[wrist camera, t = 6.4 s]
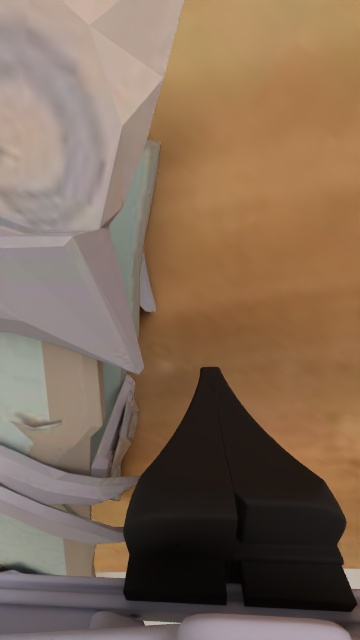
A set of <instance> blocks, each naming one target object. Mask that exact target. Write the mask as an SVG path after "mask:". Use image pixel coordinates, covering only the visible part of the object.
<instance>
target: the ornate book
mask: <svg viewBox="0 0 360 640" xmlns="http://www.w3.org/2000/svg"><path fill="white" fill-rule="evenodd" d="M183 3H184V0H0V573H18V574H40V575H61V576H83V577H96V575H95V569H94V554H95V548H96V544H100V543H120V542H124V541H125V539H124V536H123V528H124V527H112V526H109V525H106V524H103V523H99V522H96V521H93V520H91V505H95V504H98V503H101V502H103V501H106V500H115V501H120V498H121V492H123V491H125V490H127V489H129V488H131V487H133V486H135V485H136V484H137V482H138V479H139V476H131V477H121V460H122V459H123V457H124V455H125V454H126V452H127V451H128V449H129V447H130V446H131V444H132V441H133V438H134V434H135V429H136V425H137V420H138V414H139V410H138V407H137V404H136V400H135V397H134V389H135V381H134V380H133V379H132V378H131V377H130V376H129V375H126V374H127V371H129V372H132V373H134V374H137V375H139V374H140V373H141V371H142V370H143V369H144V368H145V367H144V364H143V360H142V356H141V352H140V348H139V344H138V340H137V339H138V338H139V325H140V306H141V307H142V308H143V309H144V310H145V311H146V312H155V310H156V303H155V300H154V297H153V294H152V290H151V287H150V281H149V276H148V271H147V266H146V261H145V256H144V251H143V249H144V242H145V236H146V231H147V226H148V221H149V215H150V210H151V205H152V200H153V194H154V189H155V184H156V179H157V173H158V165H159V156H160V147H161V143H160V142H157V141H152V140H147V137H148V133H149V130H150V126H151V122H152V119H153V115H154V112H155V108H156V104H157V101H158V97H159V93H160V90H161V86H162V83H163V79H164V75H165V71H166V68H167V64H168V60H169V56H170V53H171V49H172V45H173V41H174V37H175V34H176V30H177V26H178V22H179V19H180V15H181V11H182V7H183Z"/></svg>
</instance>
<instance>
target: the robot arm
mask: <svg viewBox="0 0 360 640" xmlns="http://www.w3.org/2000/svg"><path fill="white" fill-rule="evenodd" d="M346 523H347V522H346V519H345V516H344V514H343V512H342V510H341V508H340V506H339V504H338V502H337V501H336V499H335V497H334V496H333V494H332V492H331V491H330V489H329V488H328V486H327V484H326V483H325V481H324V480H323V479H321V478H320V477H319V476H317V475H316V474H315V473H313V472H312V471H311V470H309V469H308V468H307V467H305V466H304V465H303V464H301V463H300V462H299V461H297V460H296V459H295V458H294V457H293V456H291V455H290V454H289V453H288V452H287V451H285V450H284V449H283V448H282V447H281V446H280V445H279V444H278V443H277V442H276V441H275V440H274V439H273V438H271V437H270V436H269V435H268V434H267V433H266V432H265V431H264V430H263V429H262V428H261V427H260V425H259V424H258V423H257V422H256V421H255V420H254V419H253V418H252V417H251V415H250V414H249V413H248V412H247V411H246V409H245V408H244V407H243V405H242V404H241V403H240V401H239V400H238V399H237V397H236V396H235V394H234V393H233V391H232V390H231V388H230V387H229V385H228V383H227V382H226V380H225V378H224V376H223V375H222V373H221V370H220V368H218V367H202V368H201V369H200V377H199V381H198V385H197V388H196V391H195V394H194V396H193V399H192V401H191V403H190V406H189V408H188V410H187V412H186V414H185V416H184V418H183V420H182V421H181V423H180V425H179V426H178V428H177V430H176V431H175V433H174V434H173V436H172V438H171V439H170V440H169V442H168V443H167V445H166V446H165V447H164V449H163V450H162V451H161V453H160V454H159V455H158V456H157V458H156V459H155V460H154V461H153V462H152V464H151V465H150V466H149V467H148V468H147V469H146V470H145V472H144V473H143V474H142V475H141V476H140V478H139V480H138V483H137V485H136V487H135V490H134V492H133V495H132V497H131V500H130V503H129V507H128V510H127V514H126V519H125V524H124V528H123V536H124V539H125V542H126V545H127V548H128V552H129V561H128V567H127V572H126V578H104V577H83V576H61V575H40V574H18V573H0V640H360V589H351V587H350V585H349V582H348V580H347V577H346V575H345V573H344V570H343V568H342V565H343V564H344V562H343V558H342V556H341V553H340V551H339V549H338V546H337V544H338V542H339V540H340V538H341V536H342V534H343V533H344V530H345V527H346ZM143 621H160V622H178V623H181V624H167V625H150V626H145V624H144V622H143Z"/></svg>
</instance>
